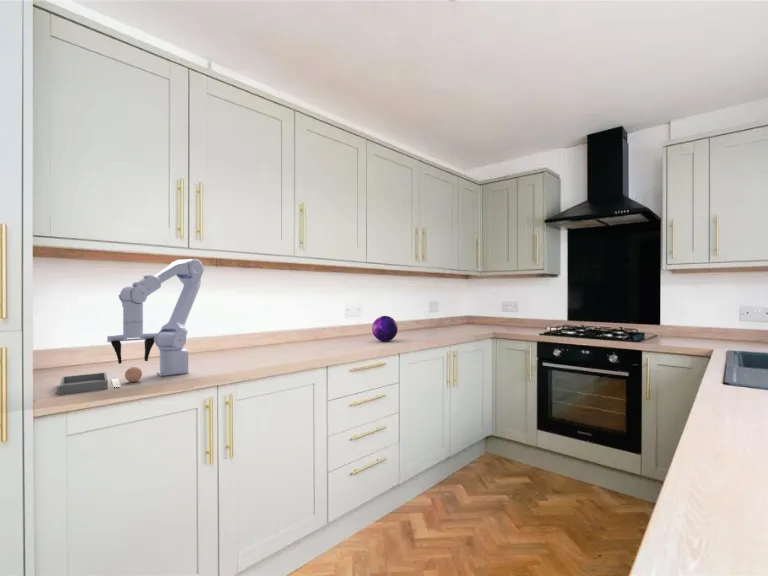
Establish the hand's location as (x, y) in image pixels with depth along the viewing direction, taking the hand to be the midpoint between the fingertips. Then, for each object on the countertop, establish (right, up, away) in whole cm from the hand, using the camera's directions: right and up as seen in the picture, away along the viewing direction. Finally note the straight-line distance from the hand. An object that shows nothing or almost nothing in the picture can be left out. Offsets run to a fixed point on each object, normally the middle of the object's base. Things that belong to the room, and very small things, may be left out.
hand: (133, 361), depth 141 cm
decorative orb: (+85, -7, +104) cm, 134 cm away
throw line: (-5, -7, -2) cm, 8 cm away
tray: (-12, -7, -6) cm, 15 cm away
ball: (0, -4, 0) cm, 4 cm away
